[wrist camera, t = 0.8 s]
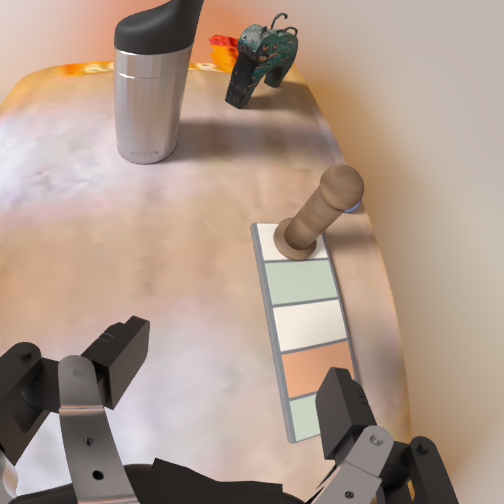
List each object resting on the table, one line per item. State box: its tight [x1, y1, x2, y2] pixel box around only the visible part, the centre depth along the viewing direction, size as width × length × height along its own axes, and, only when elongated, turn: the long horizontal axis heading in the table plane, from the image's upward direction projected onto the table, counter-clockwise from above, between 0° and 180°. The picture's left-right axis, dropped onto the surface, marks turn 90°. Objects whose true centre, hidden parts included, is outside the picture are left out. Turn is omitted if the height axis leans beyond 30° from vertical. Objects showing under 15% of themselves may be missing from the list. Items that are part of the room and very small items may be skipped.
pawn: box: [273, 165, 364, 261], centre depth 29 cm, size 6×6×14 cm
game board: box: [250, 223, 358, 444], centre depth 32 cm, size 27×10×1 cm, turn 9°
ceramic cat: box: [225, 13, 298, 109], centre depth 42 cm, size 20×6×20 cm, turn 145°
